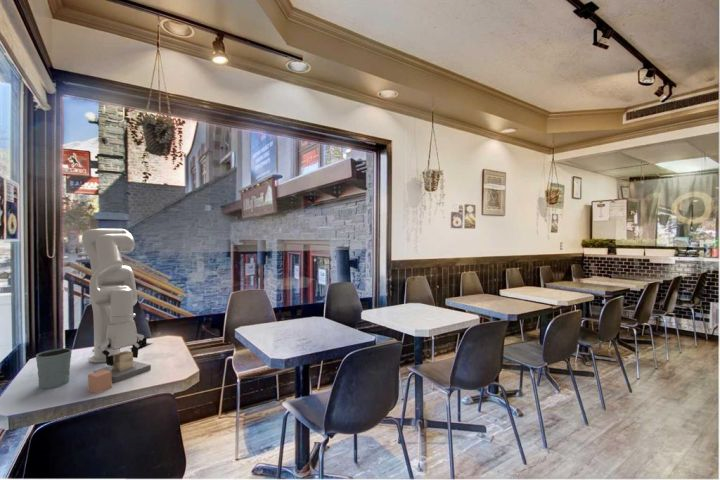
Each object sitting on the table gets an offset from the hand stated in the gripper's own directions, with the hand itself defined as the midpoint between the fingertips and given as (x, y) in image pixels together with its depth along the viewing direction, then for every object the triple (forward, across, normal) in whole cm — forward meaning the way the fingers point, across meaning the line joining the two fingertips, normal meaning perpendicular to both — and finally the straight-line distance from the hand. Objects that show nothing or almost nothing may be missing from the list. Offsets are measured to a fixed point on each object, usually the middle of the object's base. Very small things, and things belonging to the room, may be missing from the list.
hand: (122, 361), depth 143 cm
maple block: (+3, 0, 0) cm, 3 cm away
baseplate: (+5, 0, 0) cm, 5 cm away
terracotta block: (+5, +13, +8) cm, 16 cm away
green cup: (+5, +17, -13) cm, 22 cm away
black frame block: (+6, -26, -27) cm, 38 cm away
